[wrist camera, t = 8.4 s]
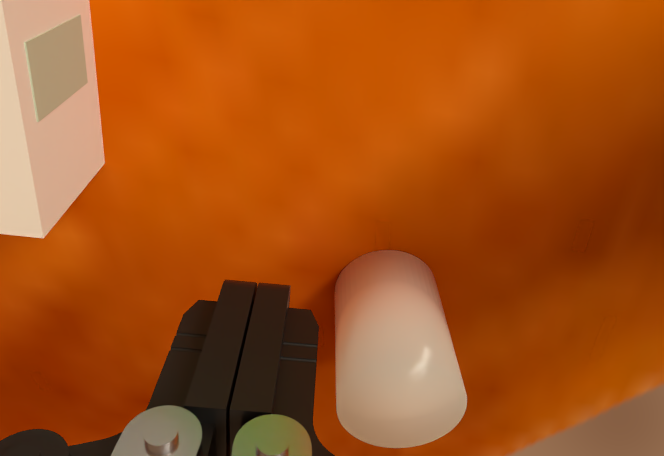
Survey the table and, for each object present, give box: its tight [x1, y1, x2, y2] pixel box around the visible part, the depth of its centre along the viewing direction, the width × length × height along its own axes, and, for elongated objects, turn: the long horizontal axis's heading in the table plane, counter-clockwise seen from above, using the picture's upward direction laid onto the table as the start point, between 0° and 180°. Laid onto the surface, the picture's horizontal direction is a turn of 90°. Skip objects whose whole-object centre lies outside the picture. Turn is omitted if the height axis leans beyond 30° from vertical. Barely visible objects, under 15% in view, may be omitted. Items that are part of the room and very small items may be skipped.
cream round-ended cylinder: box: [335, 250, 467, 448], centre depth 24 cm, size 5×5×7 cm
